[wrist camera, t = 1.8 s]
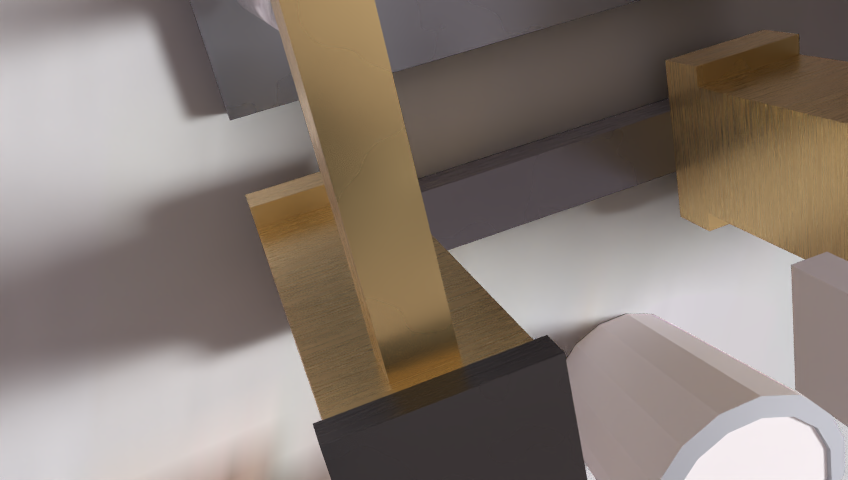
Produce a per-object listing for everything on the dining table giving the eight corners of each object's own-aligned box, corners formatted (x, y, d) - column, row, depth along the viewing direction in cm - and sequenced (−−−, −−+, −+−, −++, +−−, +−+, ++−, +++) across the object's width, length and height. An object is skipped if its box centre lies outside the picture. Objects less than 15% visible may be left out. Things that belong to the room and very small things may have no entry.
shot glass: (538, 315, 27) (654, 425, 20) (710, 281, 28) (865, 373, 22) (537, 480, 29) (641, 625, 23) (696, 440, 31) (833, 564, 25)
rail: (317, 277, 24) (324, 292, 23) (298, 217, 23) (305, 230, 22) (737, 134, 27) (762, 141, 26) (734, 76, 26) (759, 82, 25)
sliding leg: (295, 360, 23) (399, 676, 13) (145, -79, 18) (122, -124, 8) (417, 315, 23) (605, 581, 13) (304, -117, 19) (467, -201, 9)
